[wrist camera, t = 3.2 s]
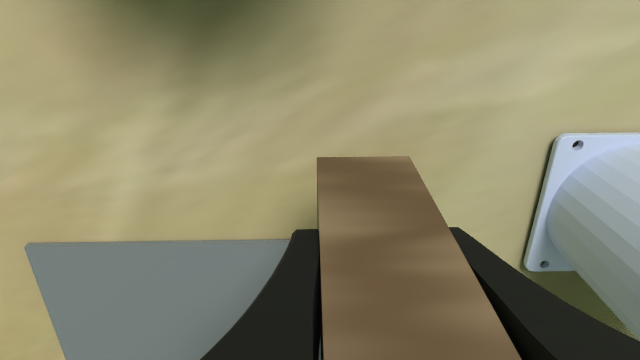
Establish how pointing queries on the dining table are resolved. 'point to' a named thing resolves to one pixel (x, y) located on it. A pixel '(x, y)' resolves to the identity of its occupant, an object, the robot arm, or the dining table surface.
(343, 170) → the block
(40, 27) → the dining table surface
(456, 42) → the dining table surface
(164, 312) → the mat
